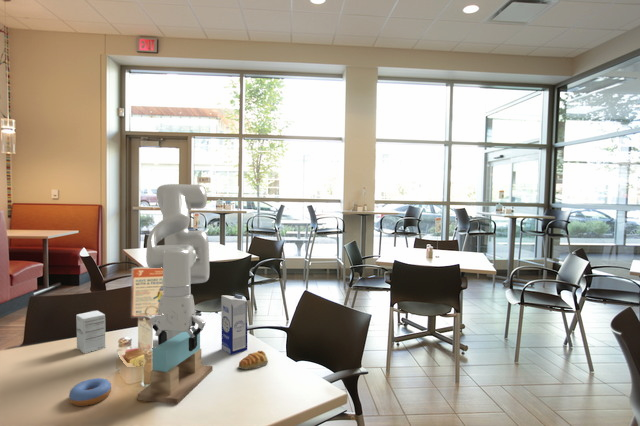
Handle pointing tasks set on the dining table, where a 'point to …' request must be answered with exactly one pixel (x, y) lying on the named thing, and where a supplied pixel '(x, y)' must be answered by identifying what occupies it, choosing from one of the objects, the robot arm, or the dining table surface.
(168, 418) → the dining table surface
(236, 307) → the milk carton
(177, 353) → the pale blue rectangular prism
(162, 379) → the display stand
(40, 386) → the dining table surface
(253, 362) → the pastry
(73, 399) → the doughnut
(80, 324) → the supplement box
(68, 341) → the dining table surface
